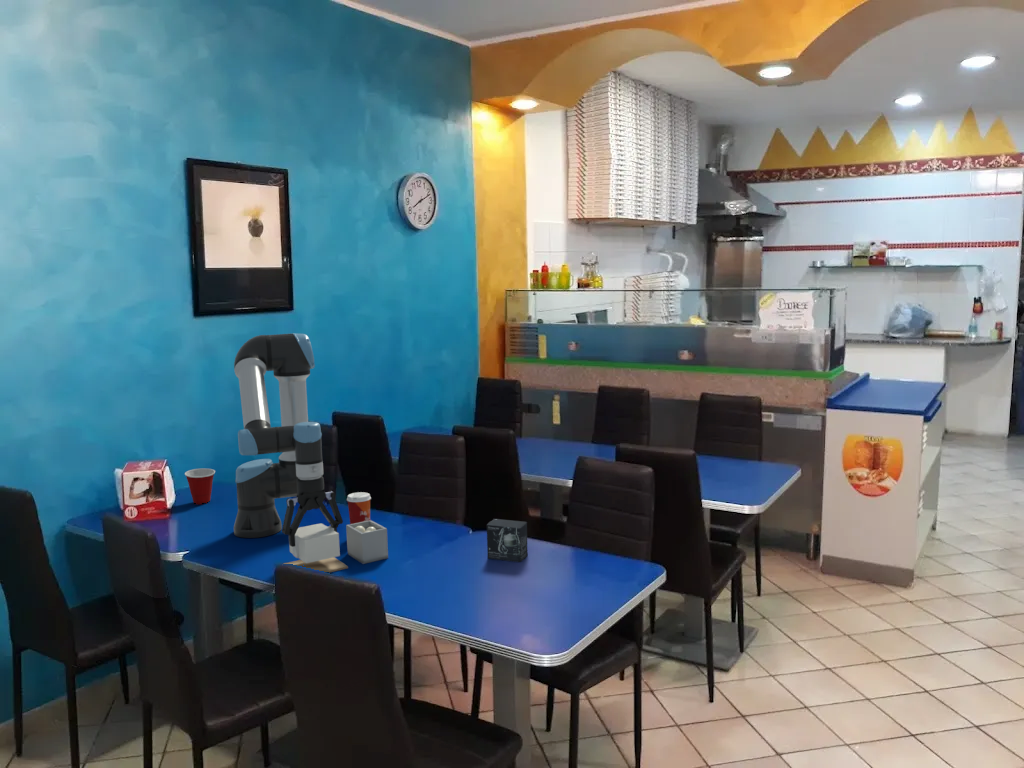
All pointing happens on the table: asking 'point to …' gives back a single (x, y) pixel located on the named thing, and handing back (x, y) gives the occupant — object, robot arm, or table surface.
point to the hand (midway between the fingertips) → (314, 552)
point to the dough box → (367, 541)
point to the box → (507, 540)
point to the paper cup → (359, 507)
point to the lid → (317, 543)
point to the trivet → (322, 565)
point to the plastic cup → (200, 484)
